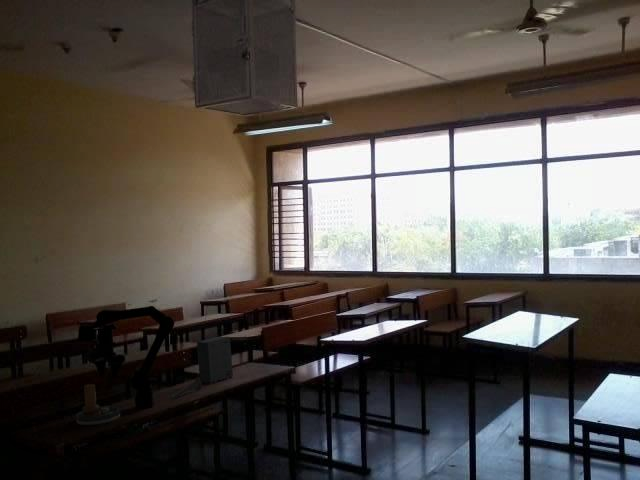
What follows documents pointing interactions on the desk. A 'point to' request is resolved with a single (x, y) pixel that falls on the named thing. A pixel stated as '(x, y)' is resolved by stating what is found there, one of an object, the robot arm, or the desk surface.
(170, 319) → the robot arm
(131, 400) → the desk surface
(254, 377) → the desk surface
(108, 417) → the carrier plate
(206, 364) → the hard drive box
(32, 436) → the desk surface
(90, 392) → the brown waisted peg
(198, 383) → the caliper
